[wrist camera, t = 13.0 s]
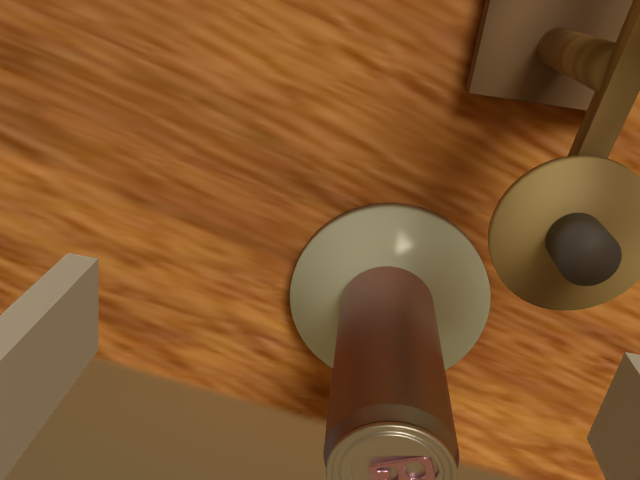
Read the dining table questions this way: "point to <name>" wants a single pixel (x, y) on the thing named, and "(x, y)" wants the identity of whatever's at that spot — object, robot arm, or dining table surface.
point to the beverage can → (389, 384)
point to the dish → (397, 251)
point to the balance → (585, 154)
